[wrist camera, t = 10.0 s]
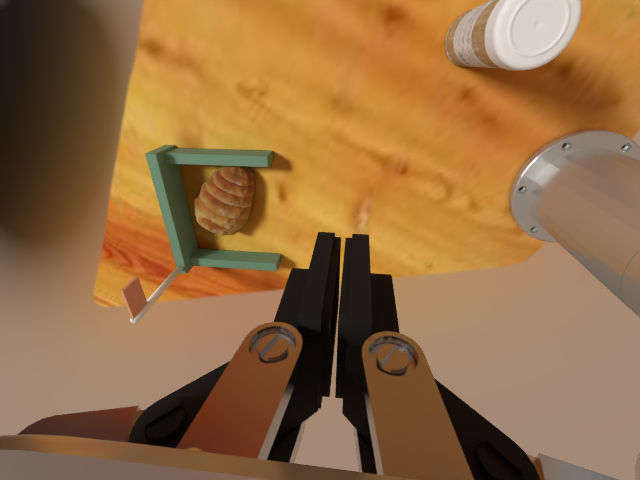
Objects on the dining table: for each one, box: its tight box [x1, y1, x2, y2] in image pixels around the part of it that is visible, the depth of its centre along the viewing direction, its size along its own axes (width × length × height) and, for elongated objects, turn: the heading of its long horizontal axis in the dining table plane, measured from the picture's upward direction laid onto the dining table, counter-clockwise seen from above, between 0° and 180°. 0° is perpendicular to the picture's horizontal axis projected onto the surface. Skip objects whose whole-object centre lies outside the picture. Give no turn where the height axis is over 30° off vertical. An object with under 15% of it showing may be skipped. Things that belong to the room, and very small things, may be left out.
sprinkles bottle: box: [445, 0, 582, 71], centre depth 23 cm, size 5×5×14 cm
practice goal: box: [120, 145, 281, 324], centre depth 35 cm, size 13×16×14 cm
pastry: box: [194, 165, 255, 235], centre depth 38 cm, size 9×7×4 cm
